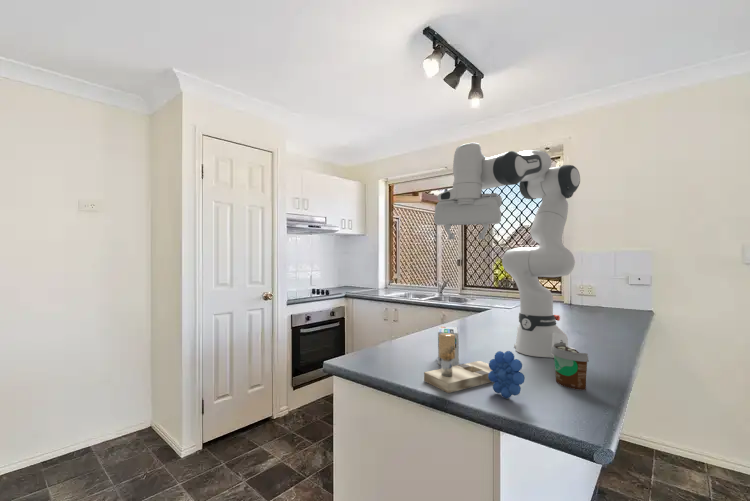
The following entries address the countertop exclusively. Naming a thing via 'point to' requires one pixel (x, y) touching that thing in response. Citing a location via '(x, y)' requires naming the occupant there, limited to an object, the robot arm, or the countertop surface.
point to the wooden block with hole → (460, 377)
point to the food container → (570, 366)
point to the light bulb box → (455, 331)
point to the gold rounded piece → (446, 353)
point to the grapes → (506, 374)
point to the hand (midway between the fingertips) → (466, 239)
